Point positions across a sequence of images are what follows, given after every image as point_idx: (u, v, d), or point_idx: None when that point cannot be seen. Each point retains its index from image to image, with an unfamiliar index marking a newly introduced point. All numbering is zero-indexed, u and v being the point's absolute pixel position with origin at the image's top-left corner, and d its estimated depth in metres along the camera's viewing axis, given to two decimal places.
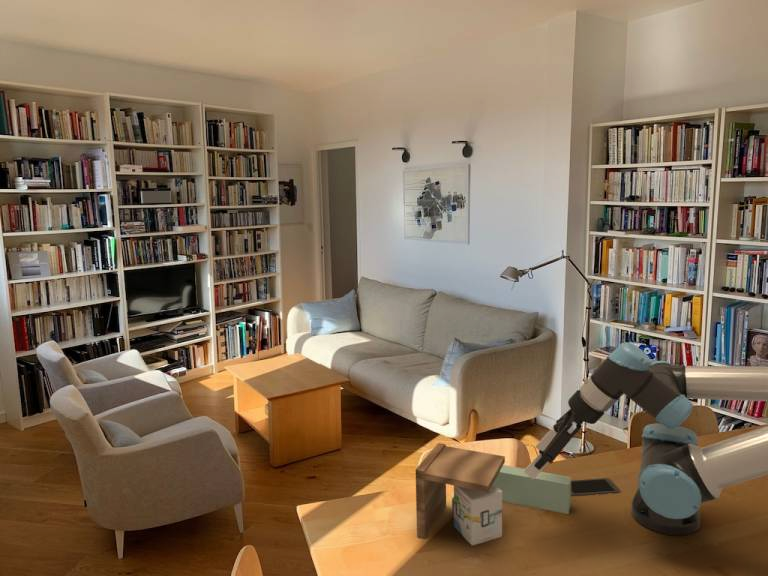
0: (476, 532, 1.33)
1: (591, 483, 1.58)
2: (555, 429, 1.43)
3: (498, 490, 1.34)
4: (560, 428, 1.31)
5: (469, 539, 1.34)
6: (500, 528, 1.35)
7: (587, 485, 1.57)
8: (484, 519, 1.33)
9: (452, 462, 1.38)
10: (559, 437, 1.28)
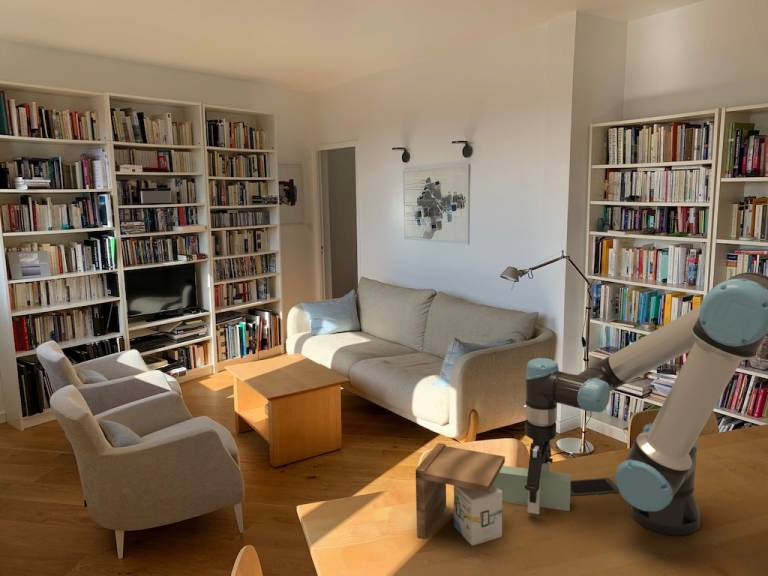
0: (476, 532, 1.33)
1: (591, 483, 1.58)
2: None
3: (498, 490, 1.34)
4: None
5: (469, 539, 1.34)
6: (500, 528, 1.35)
7: (587, 485, 1.57)
8: (484, 519, 1.33)
9: (452, 462, 1.38)
10: (530, 465, 1.40)
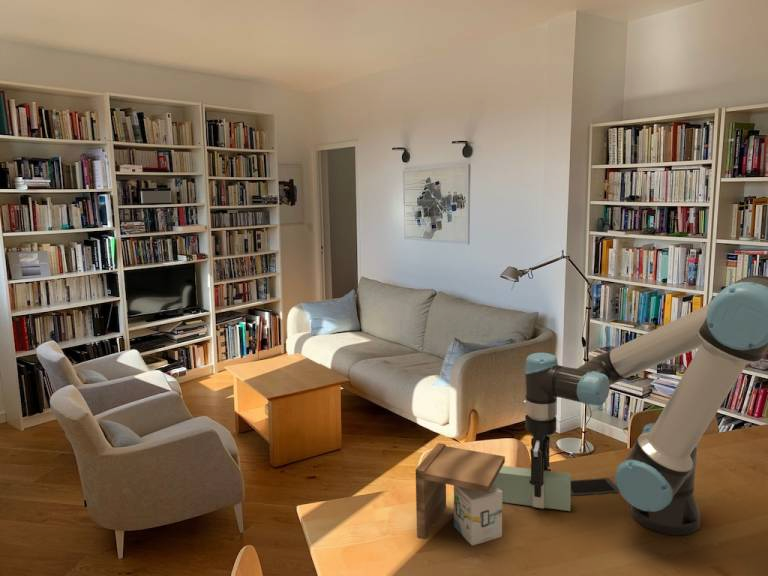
0: (476, 532, 1.33)
1: (591, 483, 1.58)
2: None
3: (498, 490, 1.34)
4: None
5: (469, 539, 1.34)
6: (500, 528, 1.35)
7: (587, 485, 1.57)
8: (484, 519, 1.33)
9: (452, 462, 1.38)
10: (532, 464, 1.42)
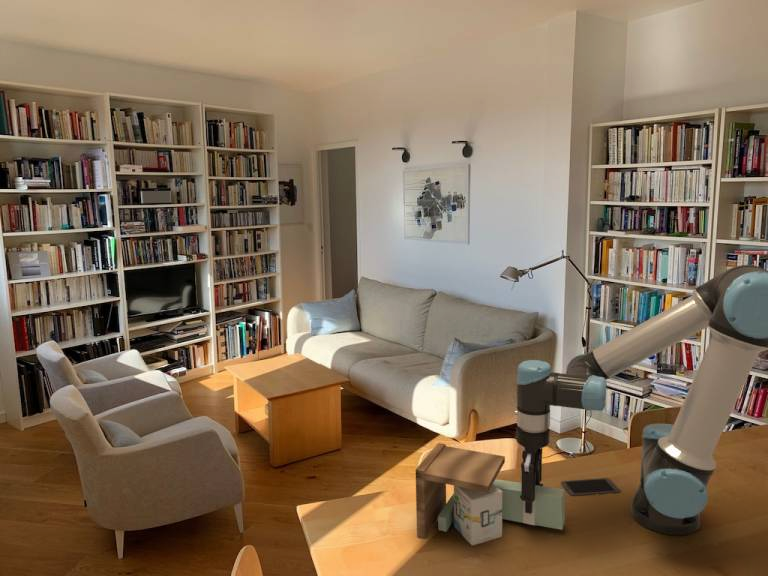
0: (476, 532, 1.33)
1: (591, 483, 1.58)
2: None
3: (498, 490, 1.34)
4: None
5: (469, 539, 1.34)
6: (500, 528, 1.35)
7: (587, 485, 1.57)
8: (484, 519, 1.33)
9: (452, 462, 1.38)
10: (523, 479, 1.33)
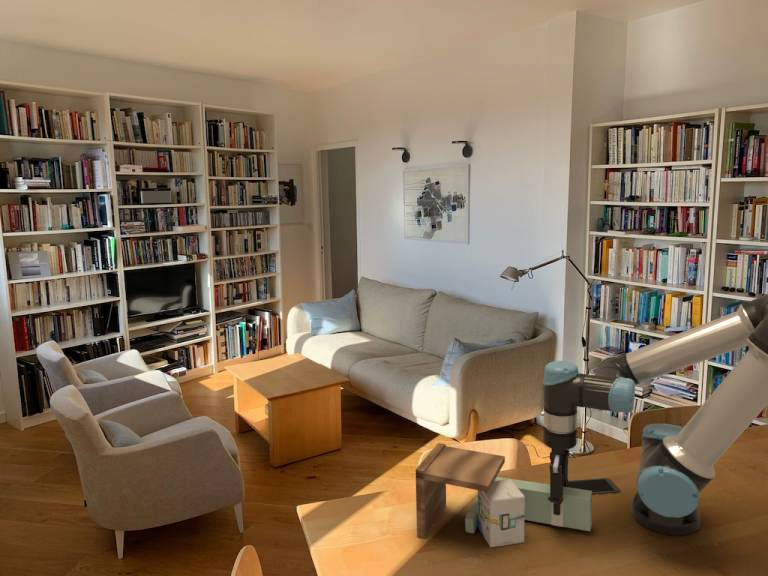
0: (495, 534, 1.32)
1: (591, 483, 1.58)
2: None
3: (520, 495, 1.32)
4: None
5: (488, 540, 1.33)
6: (522, 533, 1.33)
7: (587, 485, 1.57)
8: (504, 523, 1.32)
9: (452, 462, 1.38)
10: (551, 480, 1.33)
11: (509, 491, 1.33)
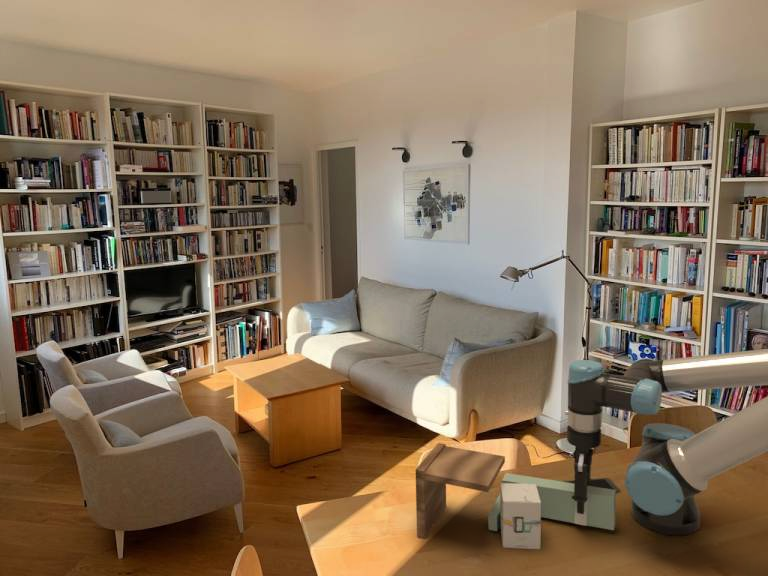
0: (508, 535, 1.31)
1: (591, 483, 1.58)
2: None
3: (537, 500, 1.30)
4: None
5: (502, 540, 1.33)
6: (537, 540, 1.31)
7: None
8: (518, 525, 1.30)
9: (452, 462, 1.38)
10: (576, 479, 1.33)
11: (527, 495, 1.32)
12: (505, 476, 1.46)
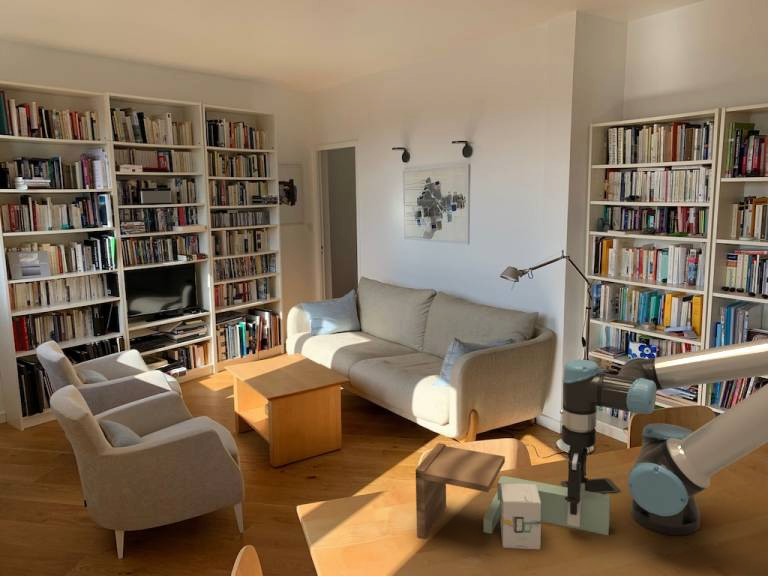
0: (508, 535, 1.31)
1: (591, 483, 1.58)
2: None
3: (537, 500, 1.30)
4: None
5: (502, 540, 1.33)
6: (537, 540, 1.31)
7: (587, 485, 1.57)
8: (517, 525, 1.30)
9: (452, 462, 1.38)
10: (569, 478, 1.32)
11: (527, 495, 1.32)
12: (501, 479, 1.46)
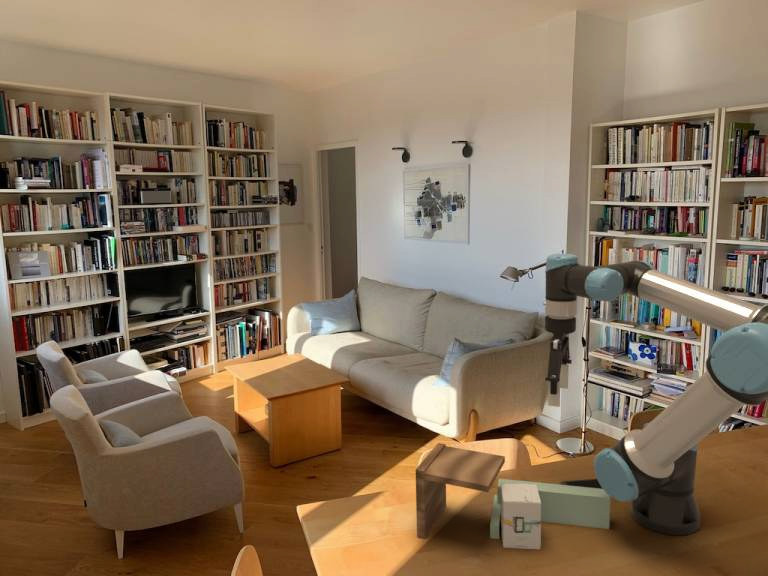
0: (508, 535, 1.31)
1: (591, 483, 1.58)
2: None
3: (537, 500, 1.30)
4: None
5: (502, 540, 1.33)
6: (538, 540, 1.31)
7: (587, 485, 1.57)
8: (518, 525, 1.30)
9: (452, 462, 1.38)
10: (550, 357, 1.41)
11: (527, 495, 1.32)
12: (499, 482, 1.45)
